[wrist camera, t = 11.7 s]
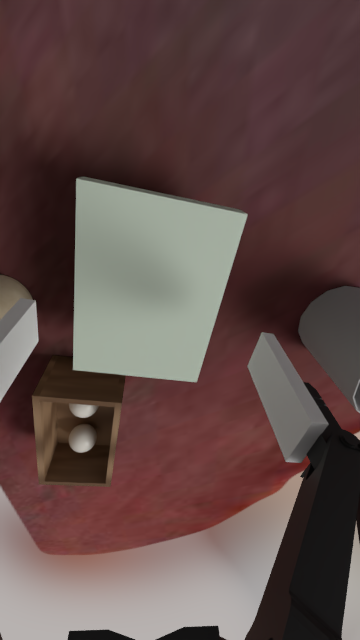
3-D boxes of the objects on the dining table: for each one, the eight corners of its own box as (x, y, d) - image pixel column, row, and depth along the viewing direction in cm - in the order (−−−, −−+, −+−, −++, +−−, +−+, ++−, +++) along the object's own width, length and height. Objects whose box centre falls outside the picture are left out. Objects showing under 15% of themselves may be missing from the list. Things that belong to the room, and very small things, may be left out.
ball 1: (73, 380, 31) (65, 401, 28) (102, 382, 31) (97, 404, 29) (72, 400, 32) (65, 423, 30) (101, 403, 33) (96, 425, 30)
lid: (83, 176, 18) (76, 178, 17) (239, 209, 20) (247, 214, 19) (78, 355, 26) (73, 369, 24) (194, 368, 28) (196, 382, 26)
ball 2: (72, 417, 34) (65, 440, 31) (99, 419, 34) (94, 441, 32) (72, 434, 35) (65, 457, 33) (98, 435, 36) (93, 459, 33)
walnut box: (52, 355, 30) (31, 395, 25) (127, 362, 32) (121, 403, 26) (55, 438, 37) (39, 484, 32) (116, 442, 38) (110, 486, 33)
